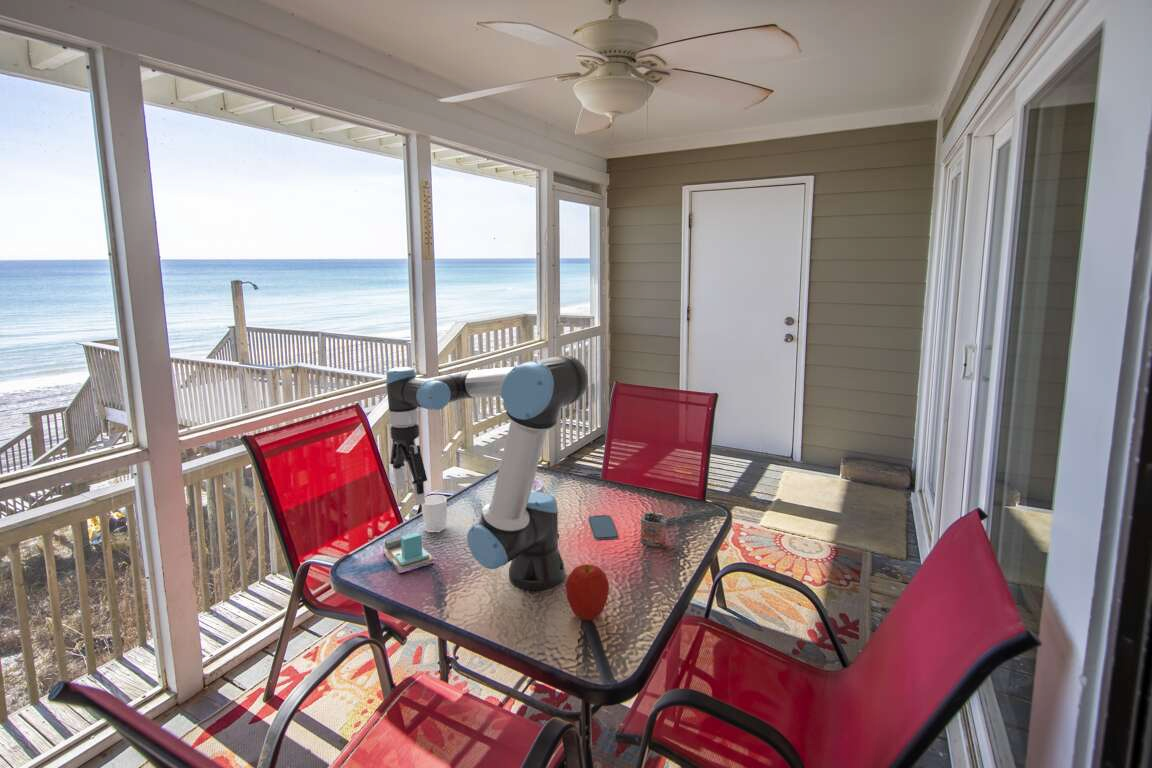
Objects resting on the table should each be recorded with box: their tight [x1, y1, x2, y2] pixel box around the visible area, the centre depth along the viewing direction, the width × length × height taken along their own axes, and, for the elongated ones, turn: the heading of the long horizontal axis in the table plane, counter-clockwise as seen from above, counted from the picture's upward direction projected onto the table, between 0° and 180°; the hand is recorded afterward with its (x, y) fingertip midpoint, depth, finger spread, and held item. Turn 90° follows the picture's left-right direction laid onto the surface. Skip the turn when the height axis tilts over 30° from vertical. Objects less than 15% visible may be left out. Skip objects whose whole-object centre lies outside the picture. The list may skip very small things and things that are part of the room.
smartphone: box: [588, 514, 619, 541], centre depth 188 cm, size 8×2×15 cm
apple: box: [565, 563, 610, 621], centre depth 140 cm, size 10×10×14 cm
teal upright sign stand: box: [395, 531, 430, 566], centre depth 166 cm, size 5×8×7 cm, turn 126°
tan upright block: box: [639, 510, 667, 548], centre depth 177 cm, size 8×3×10 cm, turn 62°
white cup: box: [420, 494, 448, 532], centre depth 188 cm, size 8×8×10 cm
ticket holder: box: [382, 536, 435, 570], centre depth 169 cm, size 14×10×4 cm
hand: (409, 496), depth 166 cm, fingers open, 13 cm apart
